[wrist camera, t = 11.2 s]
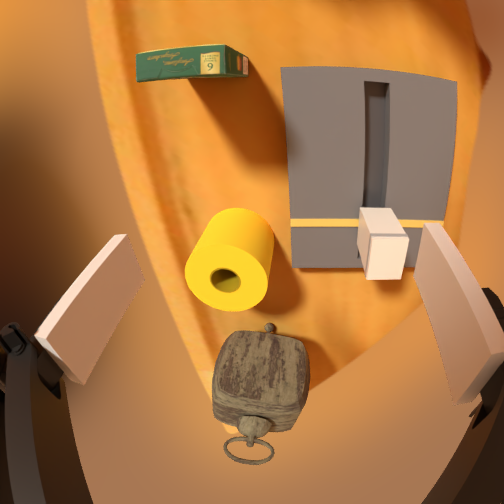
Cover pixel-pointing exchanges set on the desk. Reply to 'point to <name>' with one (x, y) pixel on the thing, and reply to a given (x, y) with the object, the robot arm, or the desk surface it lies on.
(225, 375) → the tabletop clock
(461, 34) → the desk surface
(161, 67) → the coffee box
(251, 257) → the yellow toilet paper roll
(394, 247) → the fader knob
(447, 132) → the fader console
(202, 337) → the desk surface
